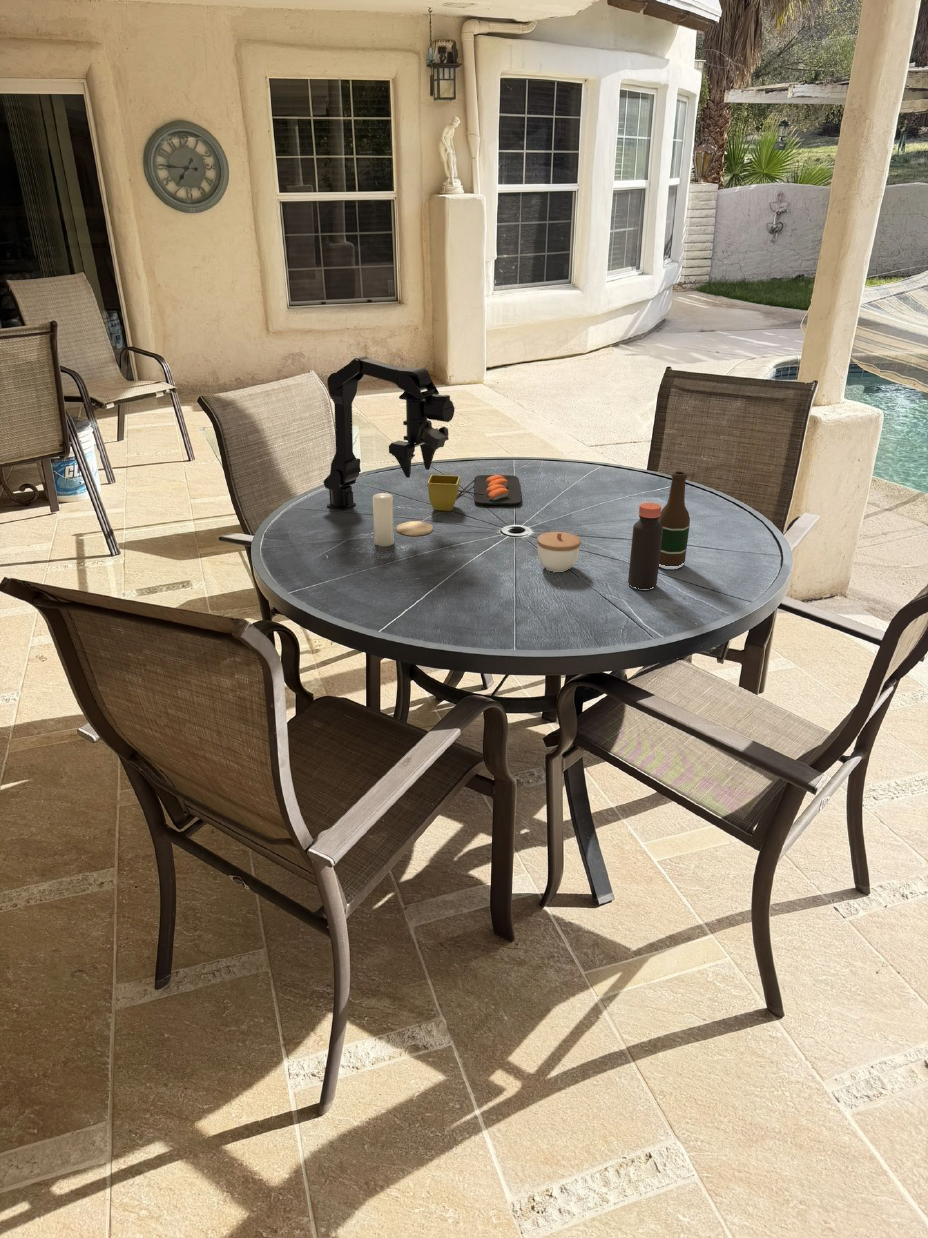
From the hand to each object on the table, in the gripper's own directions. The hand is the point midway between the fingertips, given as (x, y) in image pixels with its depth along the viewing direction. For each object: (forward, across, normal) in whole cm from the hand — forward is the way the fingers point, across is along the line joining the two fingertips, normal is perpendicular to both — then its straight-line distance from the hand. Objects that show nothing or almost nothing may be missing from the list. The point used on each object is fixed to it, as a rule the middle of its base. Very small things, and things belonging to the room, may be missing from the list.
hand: (417, 473), depth 240 cm
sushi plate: (+15, +33, +3) cm, 37 cm away
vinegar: (+15, -6, -70) cm, 72 cm away
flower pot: (+15, +15, +1) cm, 21 cm away
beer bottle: (+15, +10, -71) cm, 73 cm away
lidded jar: (+15, -8, -48) cm, 51 cm away
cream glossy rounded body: (+15, -18, -2) cm, 23 cm away
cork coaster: (+14, -5, -2) cm, 15 cm away
